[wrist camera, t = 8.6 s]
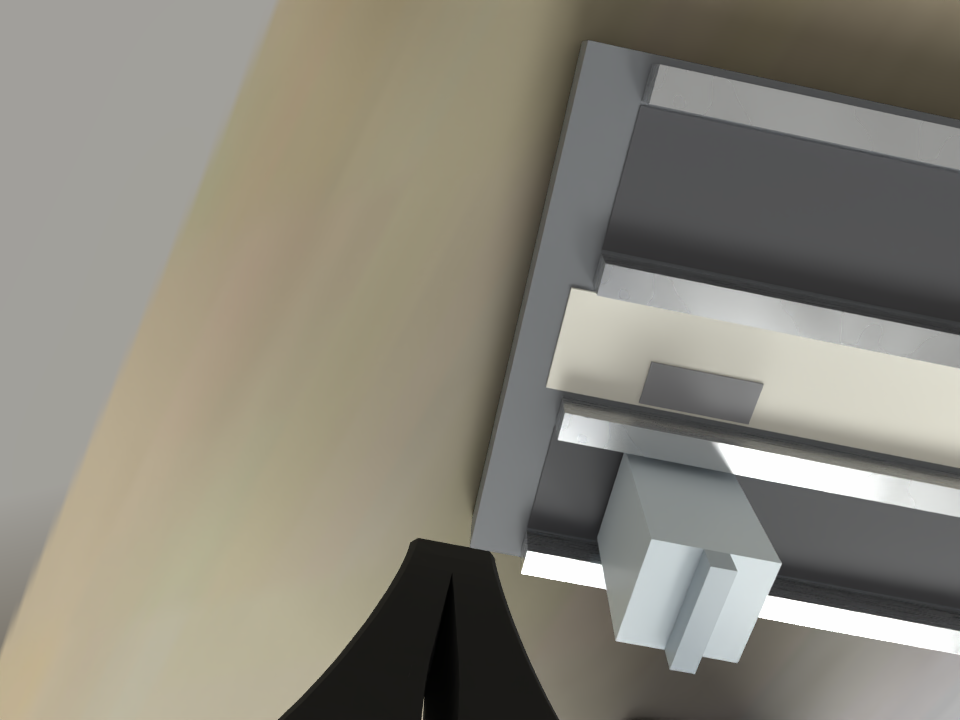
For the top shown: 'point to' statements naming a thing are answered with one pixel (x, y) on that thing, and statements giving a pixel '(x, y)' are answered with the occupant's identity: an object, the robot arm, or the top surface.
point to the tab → (683, 561)
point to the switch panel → (745, 336)
